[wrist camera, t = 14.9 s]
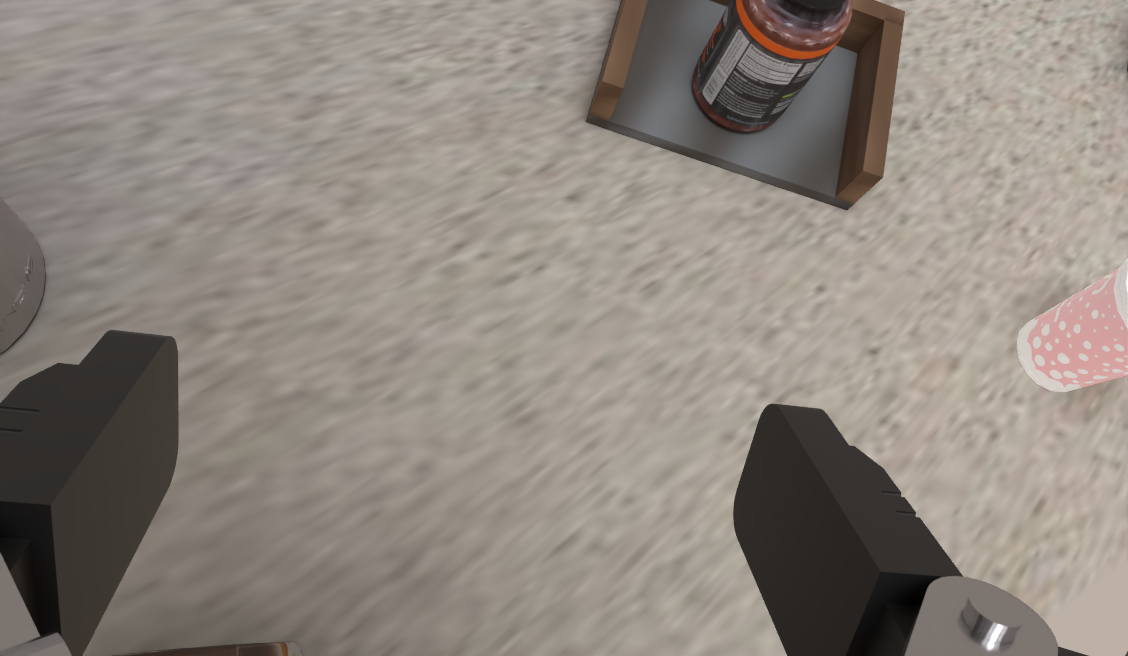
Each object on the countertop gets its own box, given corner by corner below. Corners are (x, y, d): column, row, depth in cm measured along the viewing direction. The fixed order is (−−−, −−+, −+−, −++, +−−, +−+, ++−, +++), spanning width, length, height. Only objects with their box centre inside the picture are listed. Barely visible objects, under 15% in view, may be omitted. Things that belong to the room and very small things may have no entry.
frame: (585, 121, 50) (602, 81, 47) (631, -34, 55) (649, -82, 51) (847, 210, 52) (882, 177, 48) (870, 52, 56) (904, 11, 53)
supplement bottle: (715, 33, 53) (797, -114, 43) (798, 86, 53) (900, -49, 43) (671, 100, 51) (746, -38, 40) (757, 154, 51) (854, 30, 40)
